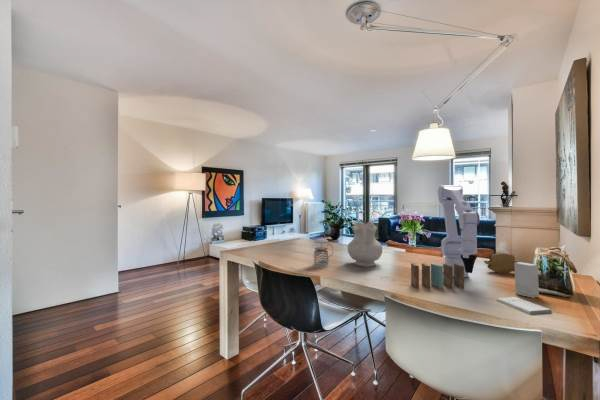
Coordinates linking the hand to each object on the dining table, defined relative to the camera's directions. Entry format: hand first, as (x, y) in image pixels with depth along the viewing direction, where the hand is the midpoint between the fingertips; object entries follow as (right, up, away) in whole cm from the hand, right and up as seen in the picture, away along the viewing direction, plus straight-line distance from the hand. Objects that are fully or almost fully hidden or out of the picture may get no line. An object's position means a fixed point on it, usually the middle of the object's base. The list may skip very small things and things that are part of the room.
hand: (469, 272), depth 118 cm
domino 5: (-4, -6, 0) cm, 7 cm away
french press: (-58, -6, +39) cm, 70 cm away
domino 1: (-22, -6, +2) cm, 23 cm away
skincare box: (+15, -6, -11) cm, 20 cm away
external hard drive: (+5, -7, -22) cm, 23 cm away
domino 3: (-13, -6, +1) cm, 14 cm away
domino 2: (-18, -6, +1) cm, 19 cm away
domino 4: (-9, -6, +1) cm, 10 cm away
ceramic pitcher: (-34, -6, +41) cm, 54 cm away
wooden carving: (+30, -6, +22) cm, 38 cm away
